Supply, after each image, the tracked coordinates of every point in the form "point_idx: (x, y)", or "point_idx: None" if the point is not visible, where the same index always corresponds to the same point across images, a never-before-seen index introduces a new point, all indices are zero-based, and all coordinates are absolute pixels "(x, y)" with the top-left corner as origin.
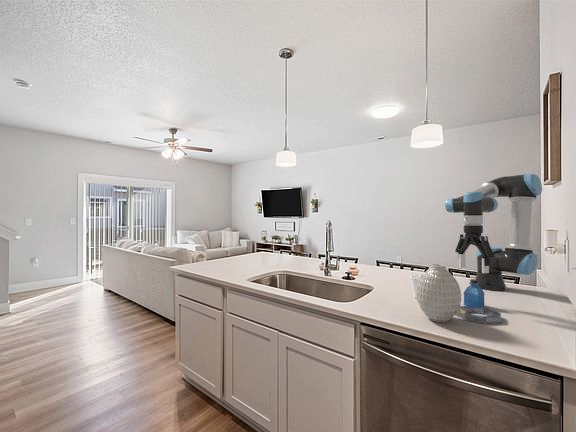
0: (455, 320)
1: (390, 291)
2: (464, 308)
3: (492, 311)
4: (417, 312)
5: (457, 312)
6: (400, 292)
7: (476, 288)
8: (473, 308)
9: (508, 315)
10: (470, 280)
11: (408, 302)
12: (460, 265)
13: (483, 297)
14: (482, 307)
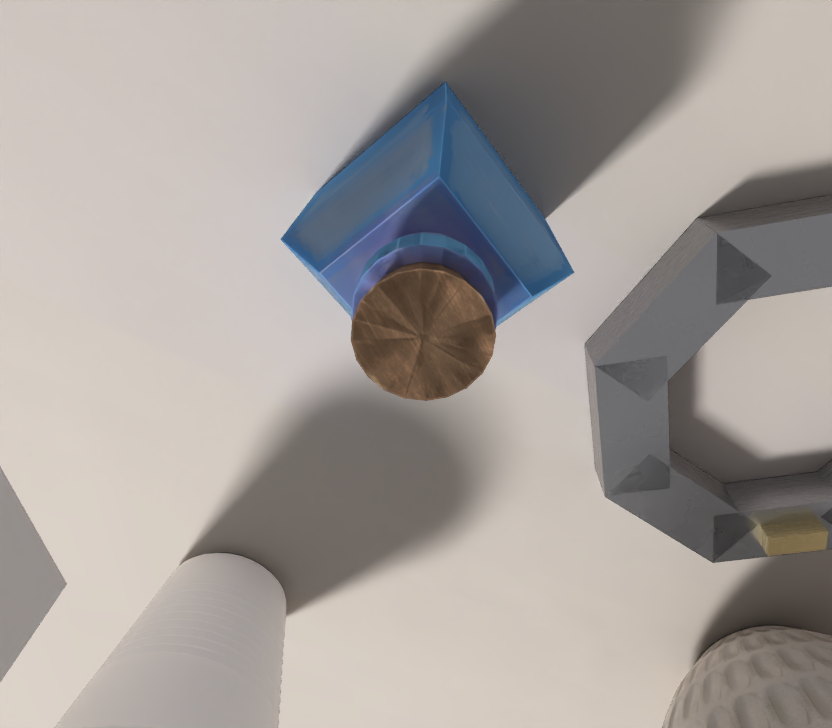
0: (811, 583)
1: (44, 720)
2: (667, 458)
3: (829, 249)
4: (602, 725)
5: (740, 551)
6: (55, 667)
7: (520, 299)
8: (671, 369)
9: (822, 14)
10: (416, 391)
11: (362, 702)
12: (31, 629)
13: (464, 117)
14: (679, 271)
